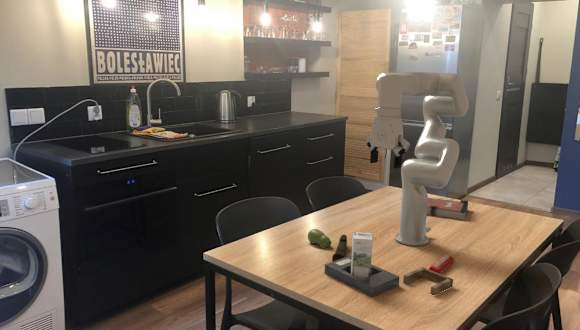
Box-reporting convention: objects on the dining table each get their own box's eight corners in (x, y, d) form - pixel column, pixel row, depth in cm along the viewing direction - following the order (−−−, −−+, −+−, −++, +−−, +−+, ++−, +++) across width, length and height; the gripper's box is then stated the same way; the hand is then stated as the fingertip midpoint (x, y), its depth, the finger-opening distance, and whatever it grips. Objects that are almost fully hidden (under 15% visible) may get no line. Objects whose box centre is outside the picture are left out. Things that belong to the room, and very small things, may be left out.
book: (403, 213, 216) (404, 202, 215) (410, 203, 232) (411, 193, 231) (464, 221, 206) (465, 210, 205) (467, 211, 221) (468, 200, 220)
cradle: (421, 274, 152) (422, 267, 151) (452, 286, 143) (453, 279, 143) (403, 282, 146) (403, 275, 145) (433, 296, 137) (434, 288, 137)
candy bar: (437, 278, 150) (438, 269, 149) (426, 274, 152) (427, 266, 152) (455, 262, 162) (456, 254, 162) (445, 259, 164) (445, 251, 164)
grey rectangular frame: (350, 263, 158) (350, 254, 158) (398, 285, 143) (399, 275, 143) (324, 273, 151) (324, 263, 150) (372, 297, 136) (373, 286, 135)
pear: (315, 225, 179) (335, 236, 173) (313, 237, 181) (333, 249, 174) (305, 228, 175) (325, 240, 169) (303, 241, 177) (323, 253, 170)
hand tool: (343, 265, 157) (344, 252, 156) (331, 264, 158) (332, 251, 158) (351, 245, 175) (352, 234, 174) (341, 244, 176) (341, 232, 175)
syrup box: (368, 275, 150) (371, 232, 147) (370, 283, 144) (372, 239, 141) (350, 274, 150) (352, 231, 147) (351, 282, 145) (353, 238, 142)
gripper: (360, 111, 155) (357, 162, 159) (403, 116, 142) (399, 171, 146) (375, 110, 160) (372, 159, 164) (418, 114, 147) (414, 168, 151)
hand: (385, 165), depth 155 cm, fingers open, 9 cm apart
